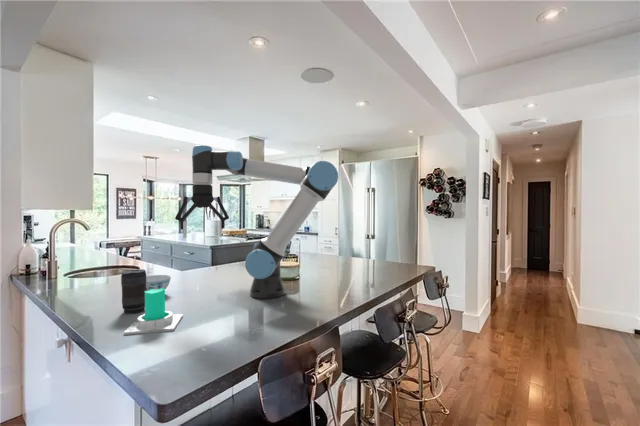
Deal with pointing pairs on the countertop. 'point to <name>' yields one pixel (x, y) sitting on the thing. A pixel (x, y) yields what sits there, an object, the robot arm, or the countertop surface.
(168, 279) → the chinaware
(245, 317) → the countertop surface
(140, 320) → the duct flange
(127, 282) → the camera lens
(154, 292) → the candle
